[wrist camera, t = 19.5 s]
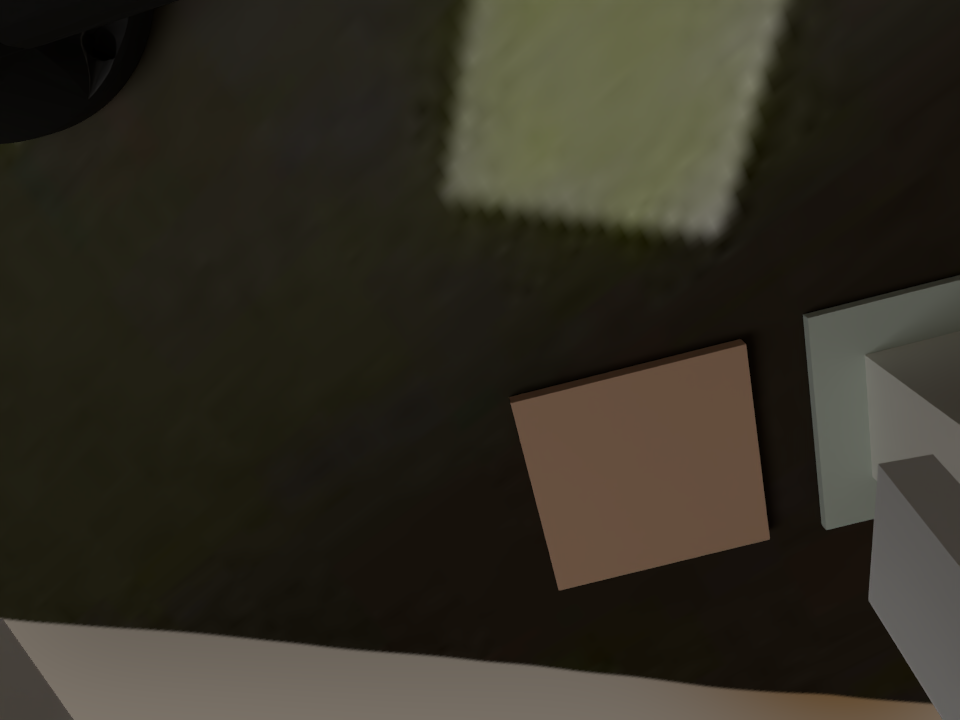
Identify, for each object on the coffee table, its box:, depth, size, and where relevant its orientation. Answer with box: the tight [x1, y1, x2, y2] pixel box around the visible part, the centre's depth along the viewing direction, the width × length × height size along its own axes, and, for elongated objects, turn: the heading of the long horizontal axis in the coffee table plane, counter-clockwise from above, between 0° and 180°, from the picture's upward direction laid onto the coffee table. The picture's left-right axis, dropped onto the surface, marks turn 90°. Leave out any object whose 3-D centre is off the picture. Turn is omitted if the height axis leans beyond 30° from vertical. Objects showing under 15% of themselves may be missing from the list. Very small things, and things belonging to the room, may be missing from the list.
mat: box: [803, 275, 960, 530], centre depth 45 cm, size 14×14×1 cm
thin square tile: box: [509, 339, 770, 590], centre depth 46 cm, size 13×13×1 cm
